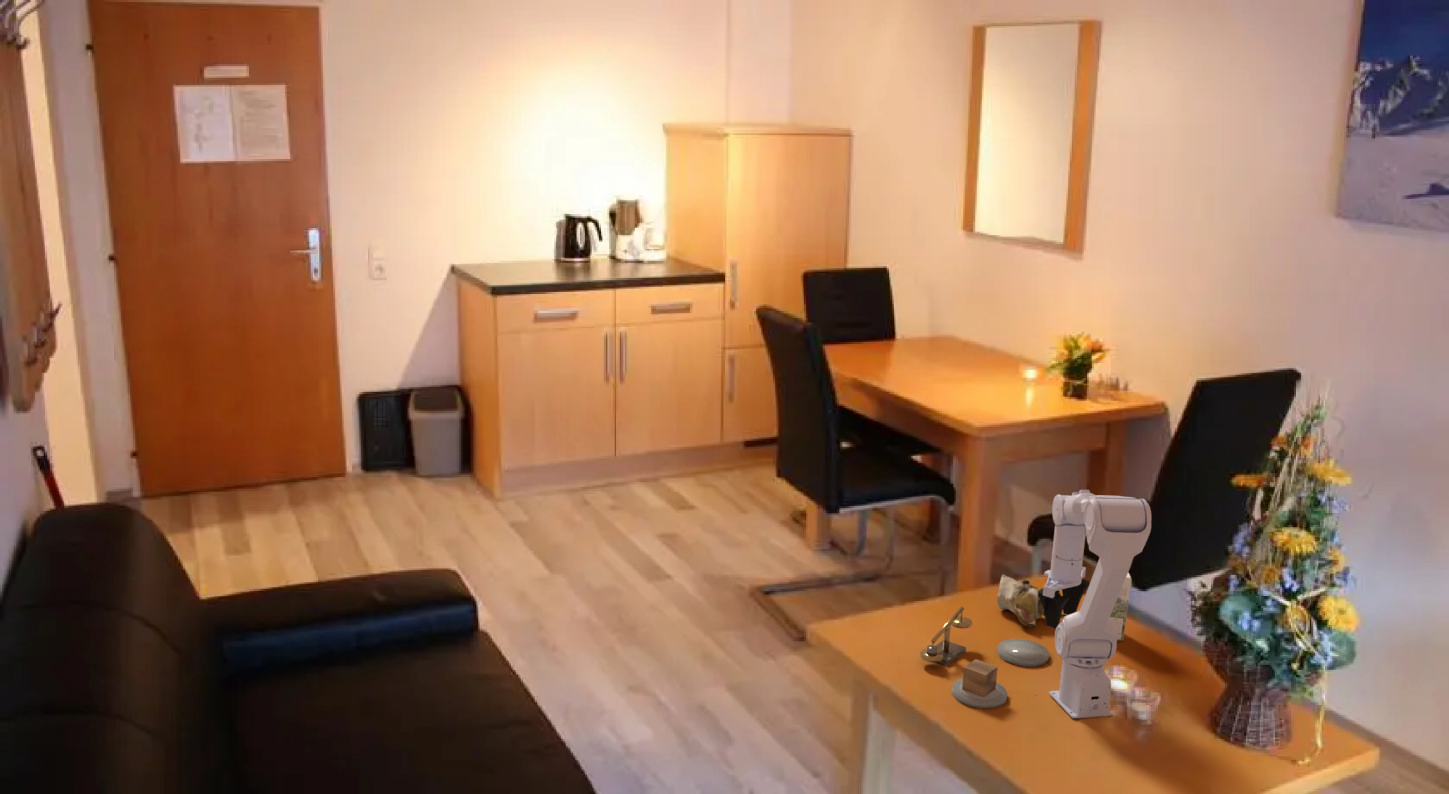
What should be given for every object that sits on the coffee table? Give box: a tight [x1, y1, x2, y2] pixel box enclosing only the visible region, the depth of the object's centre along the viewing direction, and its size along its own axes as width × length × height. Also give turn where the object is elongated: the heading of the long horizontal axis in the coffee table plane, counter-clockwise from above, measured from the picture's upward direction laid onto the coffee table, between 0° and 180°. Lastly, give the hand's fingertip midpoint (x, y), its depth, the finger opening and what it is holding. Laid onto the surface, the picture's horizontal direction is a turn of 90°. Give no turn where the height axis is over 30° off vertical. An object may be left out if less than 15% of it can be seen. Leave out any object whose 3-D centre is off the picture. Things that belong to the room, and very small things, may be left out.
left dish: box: [951, 677, 1008, 709], centre depth 221 cm, size 10×10×1 cm
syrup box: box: [1110, 572, 1132, 642], centre depth 246 cm, size 6×6×14 cm
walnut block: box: [962, 658, 999, 697], centre depth 221 cm, size 4×4×4 cm
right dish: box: [996, 638, 1050, 667], centre depth 238 cm, size 10×10×1 cm
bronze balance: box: [919, 606, 973, 666], centre depth 236 cm, size 16×5×8 cm, turn 141°
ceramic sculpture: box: [996, 574, 1067, 628], centre depth 255 cm, size 11×9×15 cm
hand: (1060, 620), depth 232 cm, fingers open, 7 cm apart
